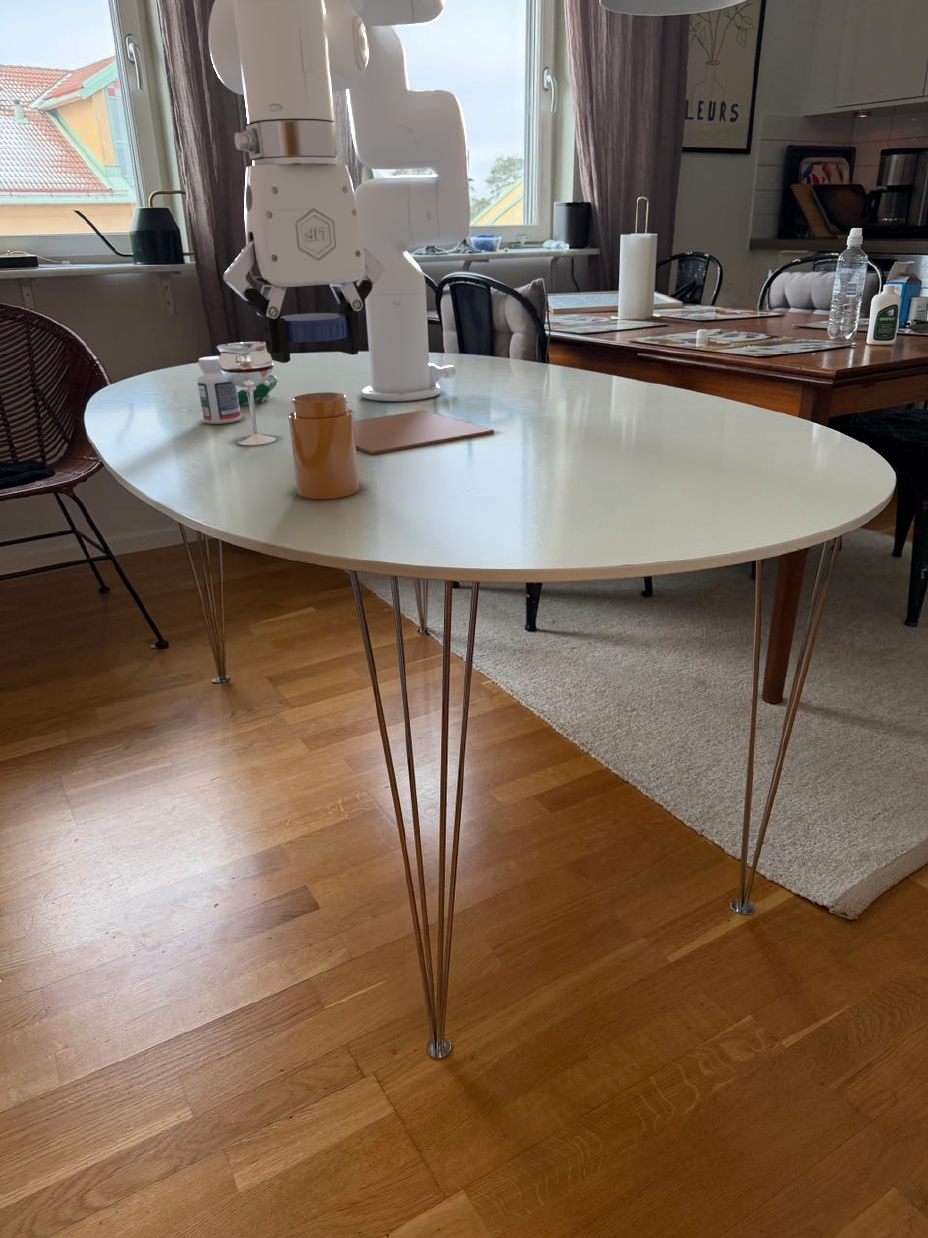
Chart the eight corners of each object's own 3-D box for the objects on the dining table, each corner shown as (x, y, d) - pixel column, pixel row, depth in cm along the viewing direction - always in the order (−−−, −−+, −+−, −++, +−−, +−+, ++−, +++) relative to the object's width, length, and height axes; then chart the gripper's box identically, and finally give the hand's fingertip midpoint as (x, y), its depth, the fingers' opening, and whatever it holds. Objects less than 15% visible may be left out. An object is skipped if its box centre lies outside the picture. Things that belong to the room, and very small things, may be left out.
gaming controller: (248, 417, 135) (271, 389, 133) (228, 400, 134) (252, 372, 132) (261, 406, 143) (283, 380, 142) (243, 390, 142) (265, 363, 140)
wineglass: (264, 432, 116) (252, 340, 111) (293, 439, 112) (281, 343, 107) (220, 441, 112) (205, 346, 107) (247, 449, 107) (234, 349, 102)
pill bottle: (246, 417, 126) (237, 354, 123) (234, 424, 122) (225, 359, 118) (211, 417, 127) (202, 355, 123) (198, 424, 122) (188, 360, 119)
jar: (342, 479, 93) (334, 388, 89) (370, 491, 88) (363, 396, 84) (287, 489, 90) (276, 396, 86) (313, 503, 85) (302, 405, 81)
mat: (422, 412, 125) (422, 410, 125) (494, 432, 111) (494, 429, 111) (309, 430, 116) (309, 427, 116) (372, 454, 103) (371, 451, 102)
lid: (295, 344, 78) (292, 322, 78) (267, 337, 84) (265, 316, 83) (359, 337, 82) (358, 316, 81) (329, 331, 87) (327, 311, 86)
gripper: (212, 143, 69) (244, 372, 76) (399, 145, 77) (411, 351, 85) (184, 150, 74) (216, 362, 82) (361, 152, 83) (375, 344, 91)
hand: (315, 355), depth 83 cm, fingers closed on lid, 6 cm apart
